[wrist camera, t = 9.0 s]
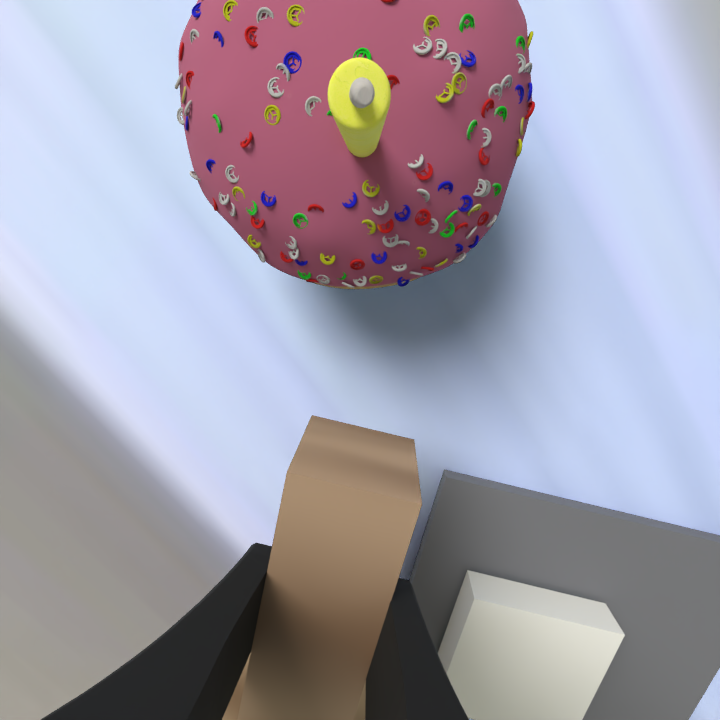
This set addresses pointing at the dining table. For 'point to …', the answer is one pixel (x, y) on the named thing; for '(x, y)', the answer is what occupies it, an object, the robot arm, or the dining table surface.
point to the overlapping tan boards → (330, 574)
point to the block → (526, 650)
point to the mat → (586, 583)
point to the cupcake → (356, 128)
